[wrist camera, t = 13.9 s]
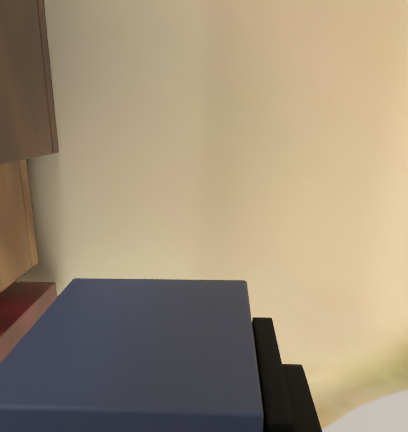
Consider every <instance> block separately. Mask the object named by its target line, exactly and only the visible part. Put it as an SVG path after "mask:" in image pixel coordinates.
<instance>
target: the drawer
mask: <svg viewBox="0 0 408 432" xmlns="http://www.w3.org/2000/svg"><path fill="white" fill-rule="evenodd" d="M37 263H38V253H37V245H36V237H35V229H34V220H33V212H32V204H31V196H30V187H29V179H28V171H27V163H26V159H25V160H20V161H16V162H11V163H6V164H2V165H0V363H1V361H2V360H3V359H4V358H5V357H6V356H7V355H8V353H9V352H10V351H11V350H12V349H13V348H14V347H15V345H16V344H17V343H18V342H19V341H20V340H21V338H22V337H23V336H24V335H25V334H26V333H27V332H28V330H29V329H30V328H31V327H32V326H33V325H34V324H35V322H36V321H37V320H38V319H39V318H40V317H41V316H42V314H43V313H44V312H45V311H46V310H47V309H48V307H49V306H50V305H51V304H52V303H53V302H54V301H55V299H56V298H57V293H56V284H55V282H15V281H16V280H17V279H18V278H20V277H21V276H22V275H23V274H25V273H26V272H27V271H28V270H30V269H31V268H32V267H34V266H35V265H36V264H37Z"/></svg>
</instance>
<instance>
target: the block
mask: <svg viewBox="0 0 408 432" xmlns="http://www.w3.org/2000/svg"><path fill="white" fill-rule="evenodd" d="M263 416H264V414H263V406H262V399H261V391H260V383H259V375H258V367H257V359H256V351H255V344H254V336H253V328H252V320H251V312H250V304H249V296H248V288H247V283H246V281H243V280H162V279H80V278H75V279H73V280H72V281H71V282H70V283H69V285H68V286H67V287H66V288H65V289H64V290H63V291H62V293H61V294H60V295H59V296H58V297H57V298H56V299H55V301H54V302H53V303H52V304H51V305H50V306H49V307H48V309H47V310H46V311H45V312H44V313H43V314H42V316H41V317H40V318H39V319H38V320H37V321H36V322H35V324H34V325H33V326H32V327H31V328H30V329H29V330H28V332H27V333H26V334H25V335H24V336H23V337H22V338H21V340H20V341H19V342H18V343H17V344H16V345H15V347H14V348H13V349H12V350H11V351H10V352H9V353H8V355H7V356H6V357H5V358H4V359H3V360H2V361H1V363H0V432H263Z"/></svg>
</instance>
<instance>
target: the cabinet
mask: <svg viewBox="0 0 408 432" xmlns="http://www.w3.org/2000/svg"><path fill="white" fill-rule="evenodd" d="M57 152H58V142H57V132H56V123H55V113H54V103H53V93H52V83H51V73H50V63H49V53H48V43H47V33H46V23H45V13H44V3H43V0H0V165H2V164H6V163H11V162H16V161H20V160H25V159H29V158H34V157H39V156H43V155H48V154H52V153H57Z"/></svg>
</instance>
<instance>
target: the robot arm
mask: <svg viewBox="0 0 408 432" xmlns="http://www.w3.org/2000/svg"><path fill="white" fill-rule="evenodd" d="M252 328H253V336H254V344H255V351H256V359H257V367H258V375H259V383H260V391H261V399H262V406H263V414H264V416H263V432H322V430H321V426H320V423H319V420H318V416H317V413H316V410H315V406H314V403H313V400H312V396H311V393H310V390H309V386H308V383H307V380H306V376H305V373H304V370H303V367H302V365H297V364H282V362H281V358H280V353H279V349H278V344H277V340H276V335H275V331H274V326H273V322H272V318H253V320H252Z"/></svg>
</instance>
